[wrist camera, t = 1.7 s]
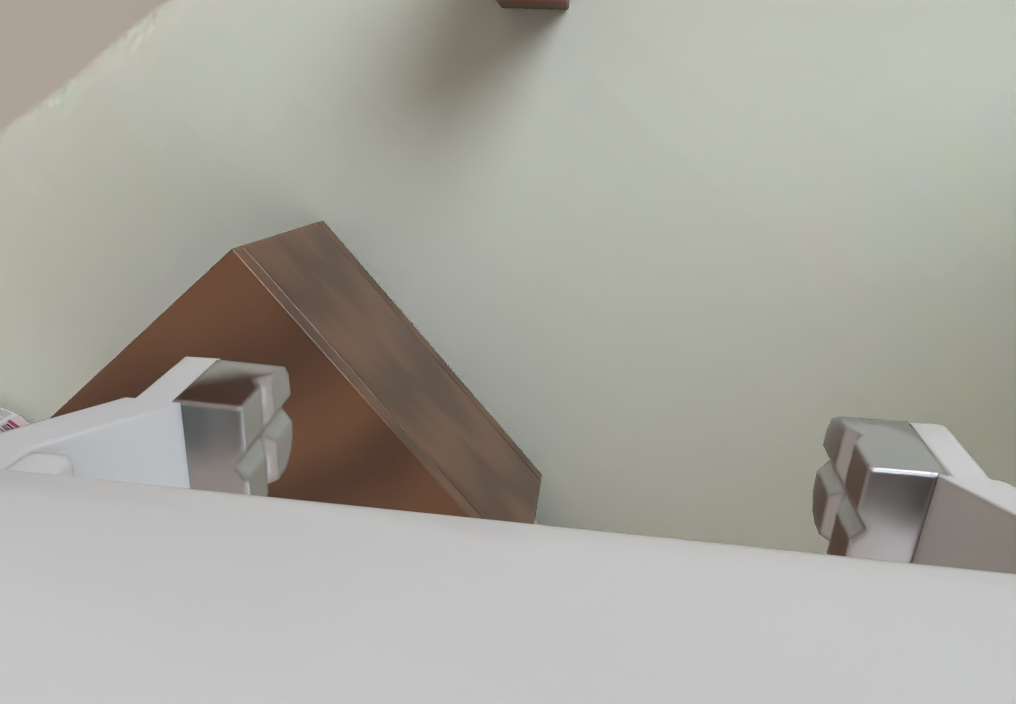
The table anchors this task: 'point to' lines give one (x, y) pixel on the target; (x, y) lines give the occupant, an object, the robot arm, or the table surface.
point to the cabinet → (337, 383)
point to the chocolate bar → (535, 4)
